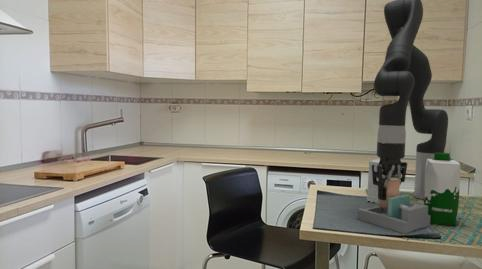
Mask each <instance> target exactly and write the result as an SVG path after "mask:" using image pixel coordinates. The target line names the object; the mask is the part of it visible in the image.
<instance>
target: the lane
mask: <svg viewBox="0 0 482 269" xmlns="http://www.w3.org/2000/svg"><path fill="white" fill-rule="evenodd" d="M387 214H388V208H382V207H380V206H378V205H377V206H372V207H368V208H362V207H361V208H357V218H356V219H357V220H360V221H363V222H366V223H370V224H373V225H376V226H379V227H381V228H385V229H388V230H391V231H394V232H398V233H401V234H404V235H406V234H409V233H411V232H412V233H413V232H415V231H414V230H416V231H418V230H417V229H419V230H421V229H420V228H422V229H424V228H423V227H425V226H429V227H430V226H431V223H430V217H431V216H430V215H428V206H427V205H424V204H422V203H421V204H417V205H413V206H412V205H411V206H409V207H408V208H404V209H402V217H401V220H400V219H397V218H393V217H390V216H387ZM425 228H426V227H425Z"/></svg>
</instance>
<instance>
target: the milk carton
mask: <svg viewBox="0 0 482 269" xmlns="http://www.w3.org/2000/svg"><path fill="white" fill-rule="evenodd" d="M450 156H451V155H450V153H449V152H444V153H440V152H436V153H434V159H427V162H426V173H425V187H424V199H423V205H427V206H428V215H430V216H431V217H430V224H435V225H441V226H442V225H443V226H445V225H446V226H453V227H456V226H457V225H456V224H457V220H458V219H457V218H458V210H459V205H460V204H459V202H460V188H461V185H460V184H461V165H462V164H461V163H460V162H459V161H457V160H455V159H450Z"/></svg>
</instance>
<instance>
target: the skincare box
mask: <svg viewBox="0 0 482 269" xmlns="http://www.w3.org/2000/svg"><path fill="white" fill-rule="evenodd" d="M379 161H380V158H376V159H372V160H370V161H368V176H367V177H368V178H367V190H366V191H367V192H366V193H367V194H366V201H367V202H368V201H370V202H369V203H372V202H375V203H374V204H377V203H378V186H377V185H374V184H373V177H372V165H377V164H379ZM382 176H384V175H383V174H382ZM377 181H378V178H377Z"/></svg>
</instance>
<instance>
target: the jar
mask: <svg viewBox="0 0 482 269" xmlns="http://www.w3.org/2000/svg"><path fill="white" fill-rule="evenodd" d="M383 182H384V179H383ZM400 187H401V185H400V180H399V179H398V177H394V176H391V178H390V180H389V181H388V183H387V186H386V188H387V192H386V200H380V199H378V204H377V206H380V207H382V208H388V198H391V197H396V196H400Z"/></svg>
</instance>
